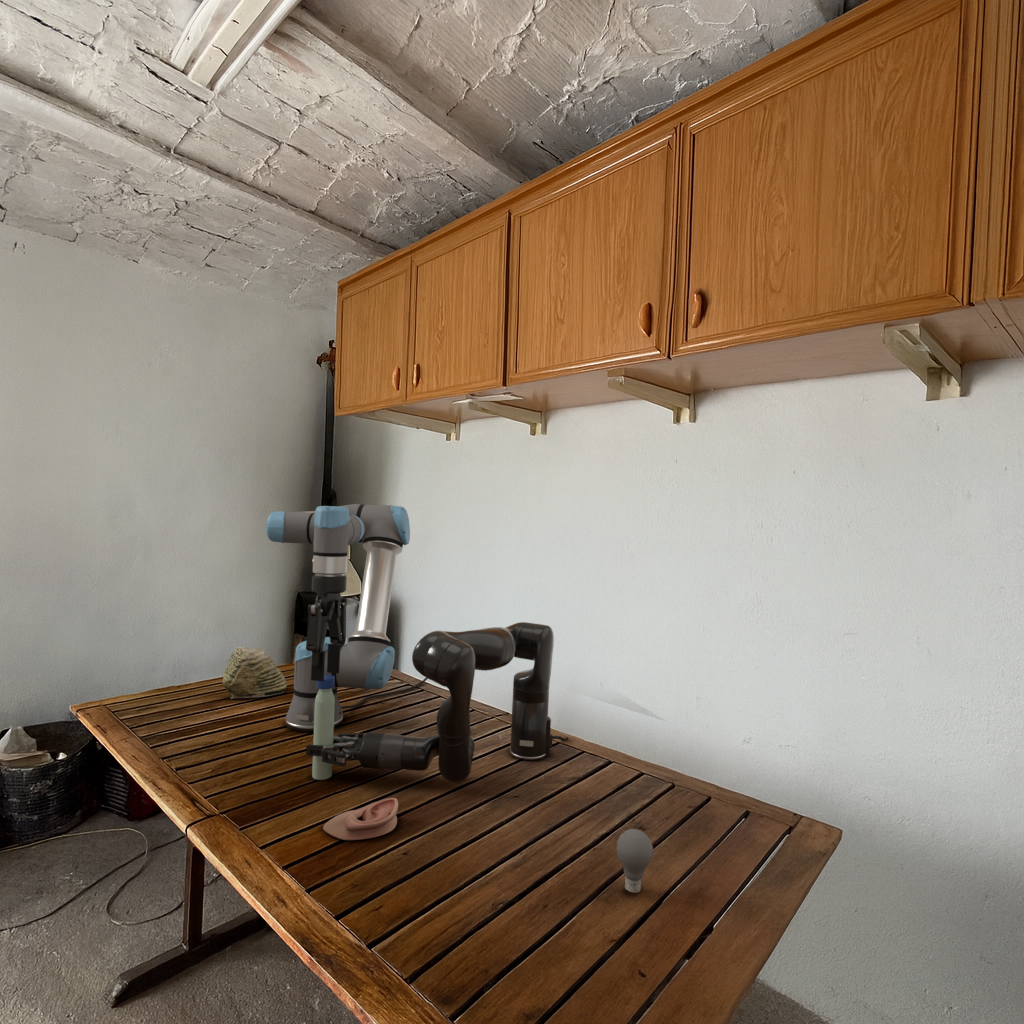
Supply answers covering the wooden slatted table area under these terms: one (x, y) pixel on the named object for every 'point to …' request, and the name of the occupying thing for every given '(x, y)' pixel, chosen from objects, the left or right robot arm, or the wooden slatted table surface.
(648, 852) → the light bulb
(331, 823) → the anatomical model
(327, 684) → the cap
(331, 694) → the bottle
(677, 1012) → the wooden slatted table surface
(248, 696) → the fossil
